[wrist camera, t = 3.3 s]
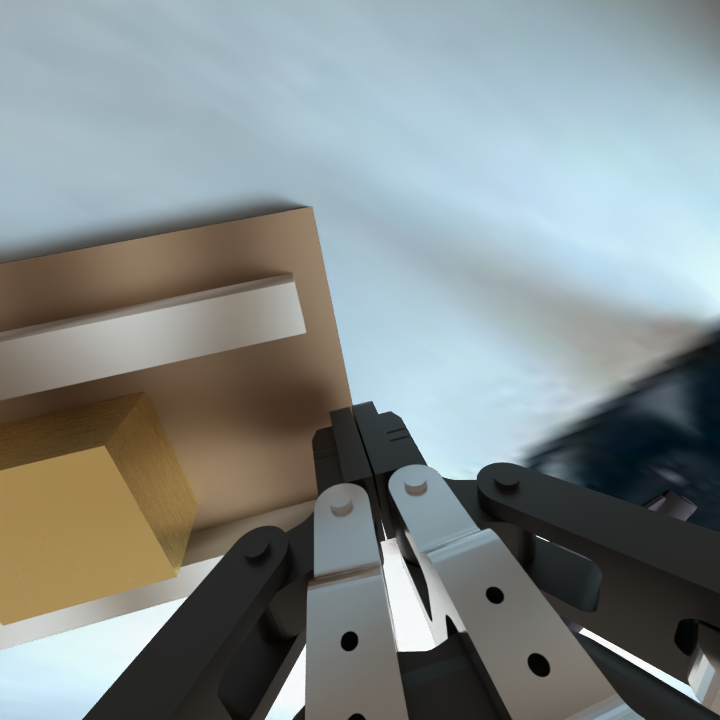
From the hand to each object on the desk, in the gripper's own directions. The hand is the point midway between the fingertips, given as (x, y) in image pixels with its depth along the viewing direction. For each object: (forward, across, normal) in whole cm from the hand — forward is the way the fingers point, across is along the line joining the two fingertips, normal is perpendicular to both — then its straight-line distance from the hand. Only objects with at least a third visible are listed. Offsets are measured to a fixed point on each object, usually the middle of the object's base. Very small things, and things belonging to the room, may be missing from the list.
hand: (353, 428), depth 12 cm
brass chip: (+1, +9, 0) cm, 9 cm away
